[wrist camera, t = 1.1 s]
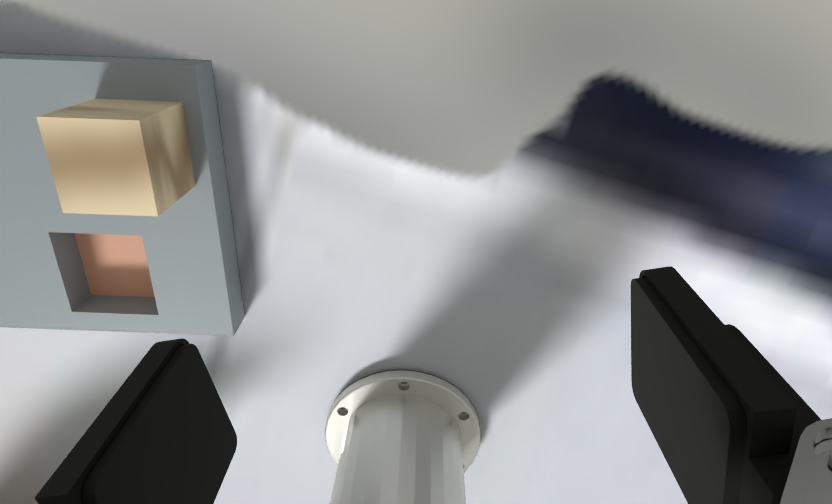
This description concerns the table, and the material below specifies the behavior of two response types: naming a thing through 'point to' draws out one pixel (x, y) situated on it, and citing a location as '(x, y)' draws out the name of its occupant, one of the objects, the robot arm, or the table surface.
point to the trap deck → (113, 234)
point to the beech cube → (118, 156)
